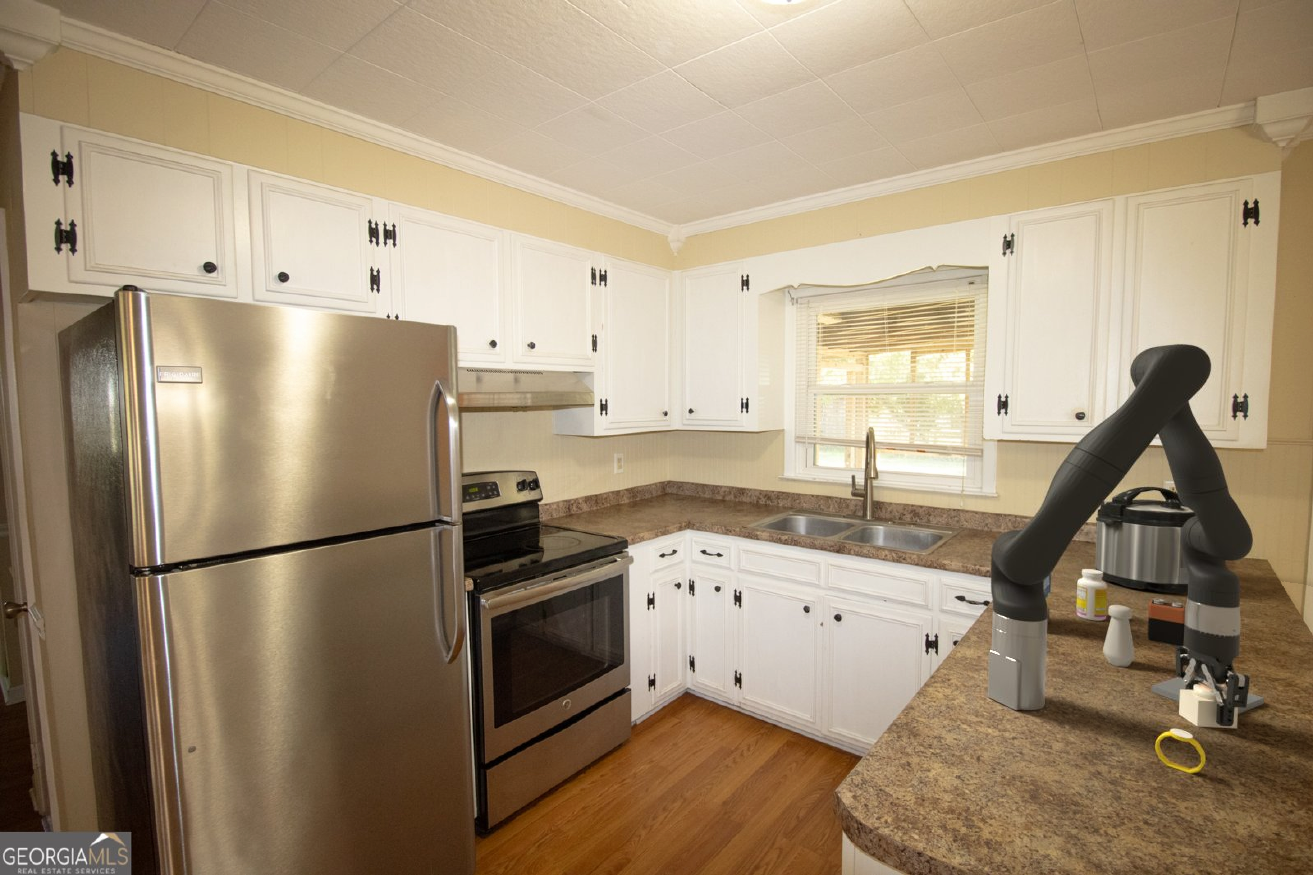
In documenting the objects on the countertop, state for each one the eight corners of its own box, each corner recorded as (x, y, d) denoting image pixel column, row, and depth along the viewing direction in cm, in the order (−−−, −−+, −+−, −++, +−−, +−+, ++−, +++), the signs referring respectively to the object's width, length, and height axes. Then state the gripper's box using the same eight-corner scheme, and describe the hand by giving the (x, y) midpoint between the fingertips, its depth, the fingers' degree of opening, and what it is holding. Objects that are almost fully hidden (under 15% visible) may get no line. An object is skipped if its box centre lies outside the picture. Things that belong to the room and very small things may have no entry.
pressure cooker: (1189, 578, 205) (1194, 484, 204) (1221, 602, 180) (1226, 495, 178) (1082, 567, 219) (1085, 479, 217) (1098, 588, 194) (1101, 489, 192)
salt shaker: (1103, 655, 142) (1105, 600, 141) (1134, 662, 138) (1137, 605, 137) (1101, 663, 137) (1103, 607, 136) (1134, 670, 134) (1136, 612, 133)
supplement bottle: (1107, 617, 168) (1109, 570, 167) (1104, 623, 163) (1106, 575, 162) (1078, 611, 172) (1080, 566, 171) (1074, 617, 167) (1075, 571, 167)
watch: (1204, 774, 97) (1209, 739, 96) (1200, 781, 95) (1206, 745, 94) (1156, 755, 101) (1160, 721, 100) (1152, 762, 99) (1157, 727, 99)
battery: (1148, 635, 154) (1150, 596, 154) (1184, 641, 150) (1185, 601, 149) (1147, 639, 151) (1149, 600, 151) (1183, 647, 147) (1185, 606, 146)
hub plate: (1225, 719, 113) (1226, 694, 113) (1151, 691, 124) (1152, 668, 124) (1263, 703, 119) (1264, 680, 118) (1189, 678, 130) (1190, 657, 129)
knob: (1237, 728, 110) (1238, 693, 109) (1197, 726, 110) (1198, 691, 110) (1217, 716, 114) (1218, 682, 114) (1178, 714, 115) (1180, 681, 114)
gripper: (1269, 642, 104) (1265, 737, 105) (1203, 613, 118) (1199, 697, 119) (1221, 640, 105) (1217, 735, 105) (1161, 612, 119) (1158, 695, 120)
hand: (1208, 714), depth 112 cm, fingers open, 6 cm apart
